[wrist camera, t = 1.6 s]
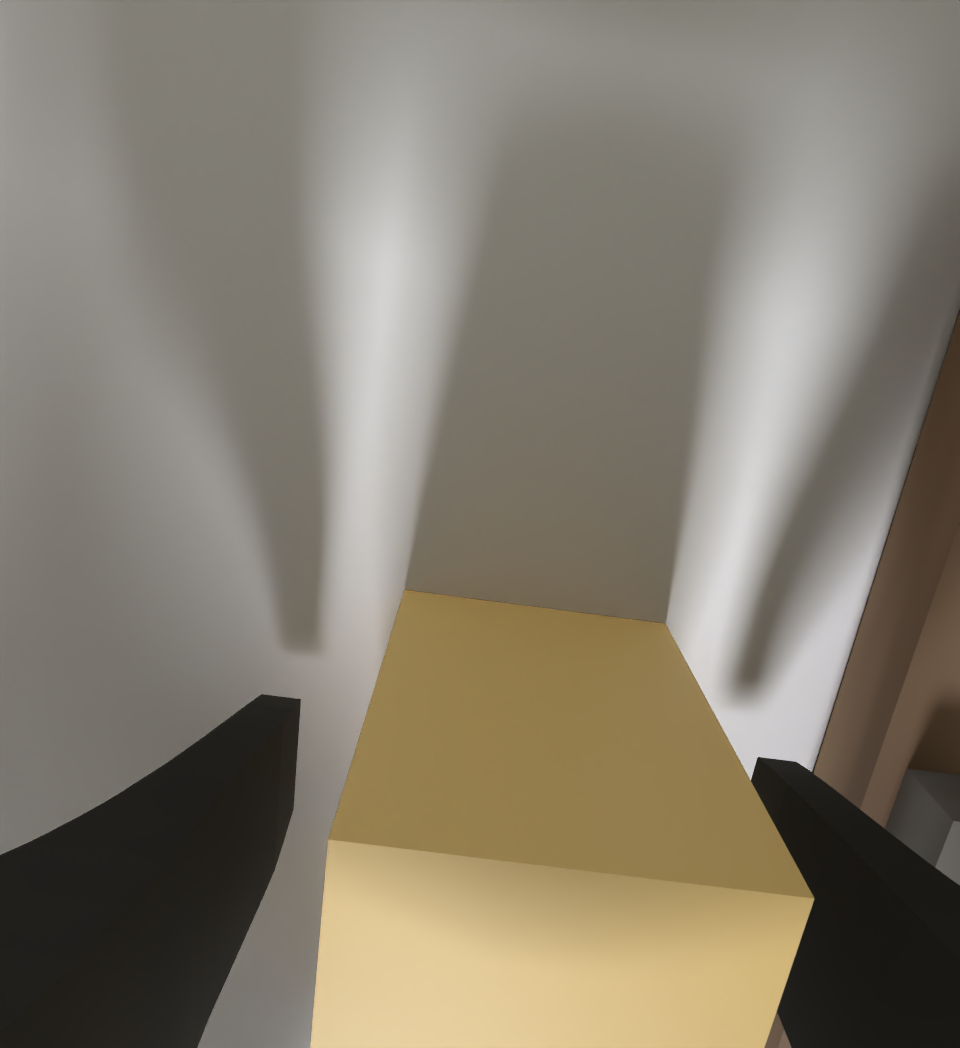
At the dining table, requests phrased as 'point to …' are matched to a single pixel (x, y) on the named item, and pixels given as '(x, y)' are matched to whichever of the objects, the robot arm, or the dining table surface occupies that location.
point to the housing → (548, 847)
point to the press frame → (909, 661)
